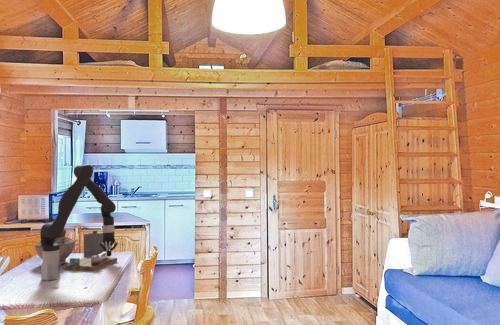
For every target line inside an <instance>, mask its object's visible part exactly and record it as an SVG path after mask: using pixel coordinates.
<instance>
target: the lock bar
mask: <svg viewBox="0 0 500 325" xmlns="http://www.w3.org/2000/svg"><path fill="white" fill-rule="evenodd" d="M106 258H108V256H107V252H102V253H101V254H99V255H94V256H91V265H98V264H99V263H100V262H101V261H103V260H105V259H106Z"/></svg>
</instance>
